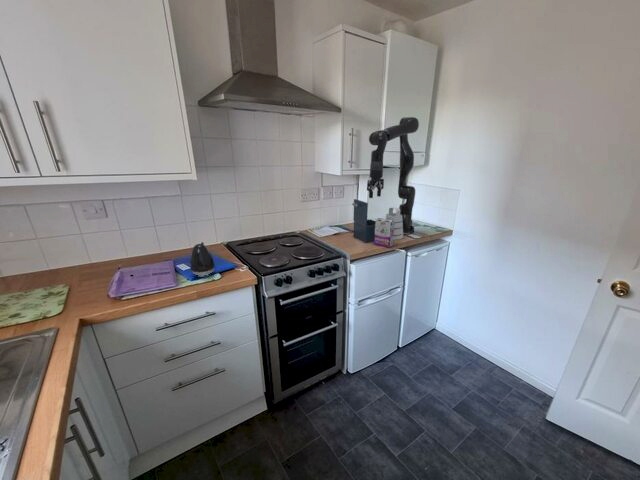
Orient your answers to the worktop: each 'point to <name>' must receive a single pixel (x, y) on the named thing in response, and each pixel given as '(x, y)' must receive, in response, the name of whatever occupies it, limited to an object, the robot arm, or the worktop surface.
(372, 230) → the bin
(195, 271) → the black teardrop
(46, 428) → the worktop surface
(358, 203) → the bin lid
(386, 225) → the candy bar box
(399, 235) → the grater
